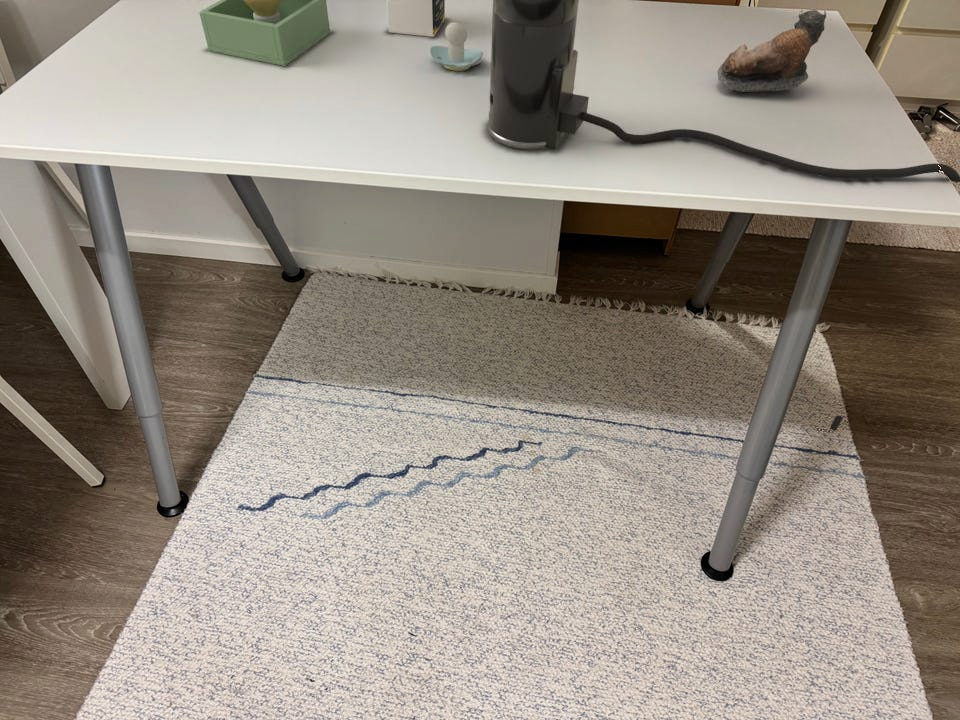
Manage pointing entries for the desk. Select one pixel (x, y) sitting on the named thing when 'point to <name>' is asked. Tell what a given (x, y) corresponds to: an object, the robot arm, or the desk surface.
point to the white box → (415, 16)
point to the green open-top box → (265, 30)
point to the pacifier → (456, 50)
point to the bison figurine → (774, 59)
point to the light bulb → (265, 10)
